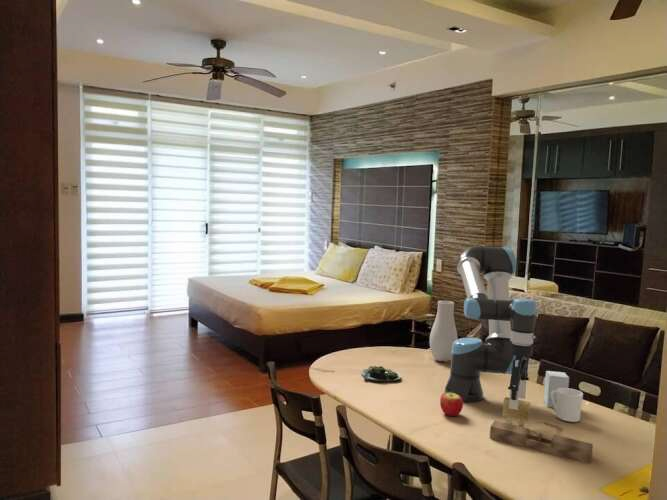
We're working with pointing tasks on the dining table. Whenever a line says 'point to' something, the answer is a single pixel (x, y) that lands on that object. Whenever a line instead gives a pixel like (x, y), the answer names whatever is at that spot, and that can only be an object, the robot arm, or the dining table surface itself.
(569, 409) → the mug
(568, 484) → the dining table surface
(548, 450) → the rail
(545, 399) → the supplement box
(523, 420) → the beige block
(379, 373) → the salad plate
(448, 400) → the apple
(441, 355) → the vase
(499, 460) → the dining table surface
